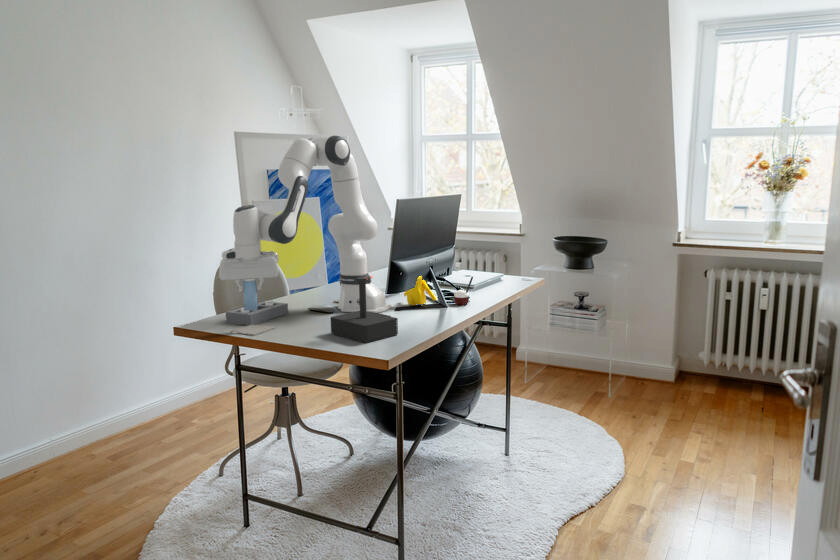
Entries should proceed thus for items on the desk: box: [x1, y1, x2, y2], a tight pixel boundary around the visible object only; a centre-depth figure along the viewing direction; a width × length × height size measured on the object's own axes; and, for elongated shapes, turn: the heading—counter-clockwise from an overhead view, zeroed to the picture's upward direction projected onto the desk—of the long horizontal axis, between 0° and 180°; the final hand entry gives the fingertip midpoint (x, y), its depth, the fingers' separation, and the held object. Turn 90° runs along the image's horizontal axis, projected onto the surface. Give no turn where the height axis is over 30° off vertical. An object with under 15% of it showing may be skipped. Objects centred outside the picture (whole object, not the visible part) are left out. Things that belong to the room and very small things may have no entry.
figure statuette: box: [403, 275, 437, 306], centre depth 264 cm, size 18×8×22 cm, turn 50°
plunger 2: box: [265, 300, 274, 306], centre depth 252 cm, size 3×3×4 cm
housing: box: [225, 300, 289, 326], centre depth 246 cm, size 22×12×4 cm, turn 154°
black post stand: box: [330, 277, 399, 344], centre depth 218 cm, size 19×17×20 cm
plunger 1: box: [240, 306, 250, 313], centre depth 240 cm, size 3×3×4 cm
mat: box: [229, 324, 276, 336], centre depth 226 cm, size 11×11×1 cm
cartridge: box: [242, 278, 258, 311], centre depth 224 cm, size 5×5×11 cm
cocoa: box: [450, 276, 474, 306], centre depth 264 cm, size 10×6×12 cm, turn 48°
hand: (250, 291), depth 224 cm, fingers closed on cartridge, 5 cm apart
